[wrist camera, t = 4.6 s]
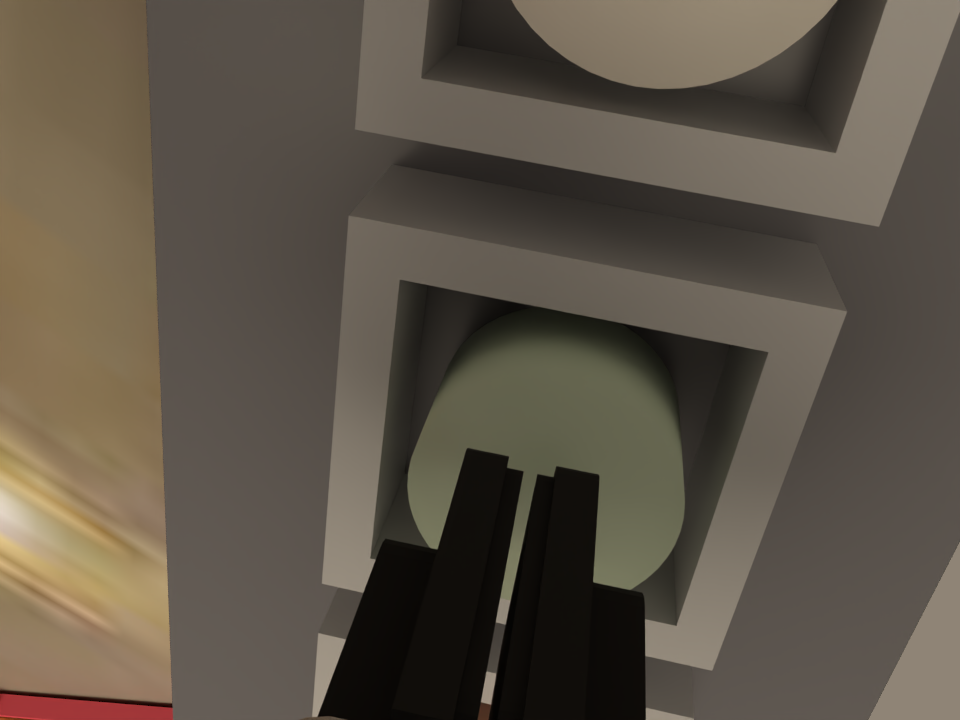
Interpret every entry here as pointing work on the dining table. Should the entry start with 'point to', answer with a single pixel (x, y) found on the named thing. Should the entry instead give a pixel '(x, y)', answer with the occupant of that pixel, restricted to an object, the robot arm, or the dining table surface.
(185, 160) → the button pad
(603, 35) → the cream button
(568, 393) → the sage button
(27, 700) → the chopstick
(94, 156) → the dining table surface
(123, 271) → the dining table surface
